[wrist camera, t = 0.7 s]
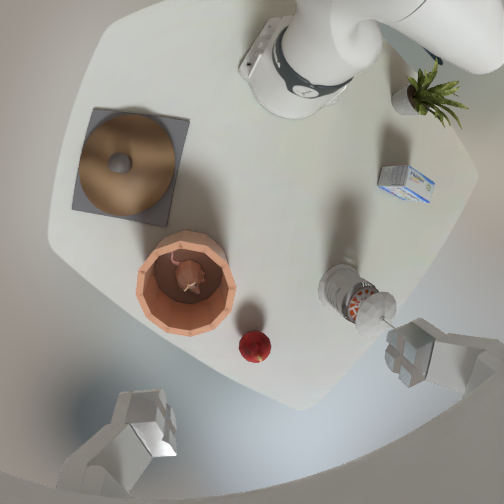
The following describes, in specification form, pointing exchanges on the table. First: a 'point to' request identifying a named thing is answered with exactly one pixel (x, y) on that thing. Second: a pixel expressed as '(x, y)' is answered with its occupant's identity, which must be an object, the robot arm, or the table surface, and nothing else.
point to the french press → (357, 300)
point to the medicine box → (406, 183)
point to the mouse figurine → (189, 275)
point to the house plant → (425, 97)
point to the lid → (126, 165)
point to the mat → (161, 208)
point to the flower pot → (182, 314)
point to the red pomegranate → (255, 346)
